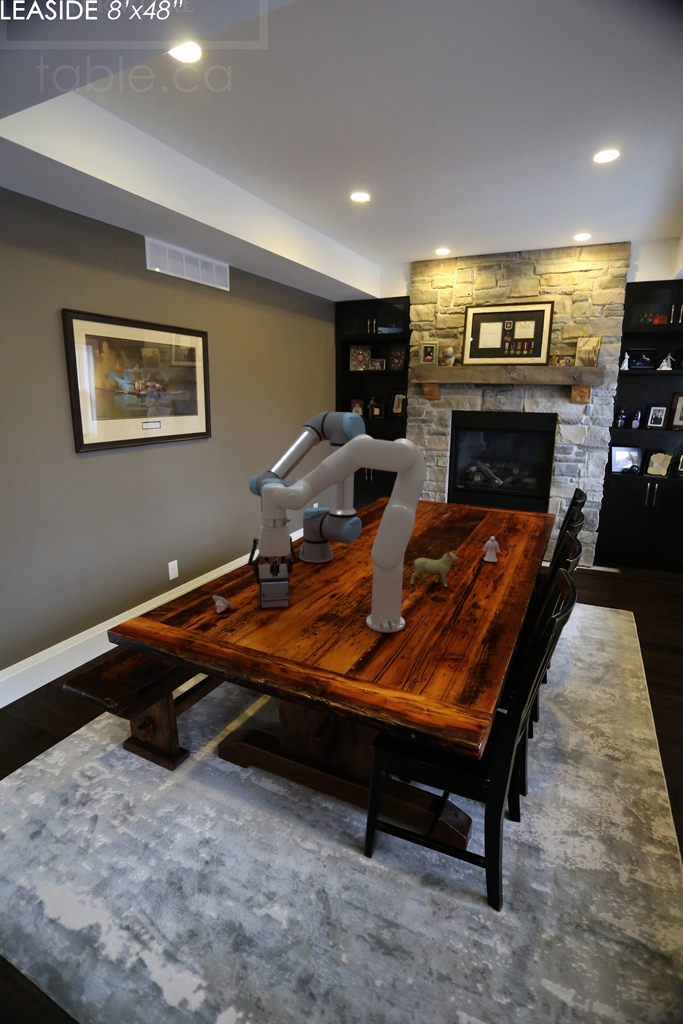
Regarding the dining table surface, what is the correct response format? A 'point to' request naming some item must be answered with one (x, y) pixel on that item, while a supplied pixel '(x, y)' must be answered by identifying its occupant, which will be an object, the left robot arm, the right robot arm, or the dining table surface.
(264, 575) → the cabinet
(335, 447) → the left robot arm
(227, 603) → the seashell
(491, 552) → the figurine
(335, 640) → the dining table surface
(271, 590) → the drawer
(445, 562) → the toy
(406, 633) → the dining table surface
